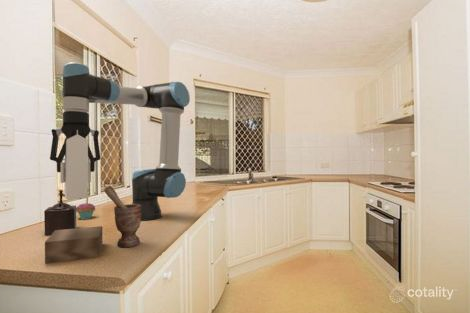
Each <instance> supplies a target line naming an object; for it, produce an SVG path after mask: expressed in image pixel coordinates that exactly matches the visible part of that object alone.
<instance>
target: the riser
mask: <svg viewBox="0 0 470 313" xmlns="http://www.w3.org/2000/svg"><path fill="white" fill-rule="evenodd" d="M102 247H103V225H102V226H101V225H99V226H88V227H77V228H76V229H64V230H55V231H54V232H53V233H52V235H49V237H48V238H47V239H46V240H45V241H44V264H51V263H59V262H67V261H76V260H84V259H93V258H100V256H101V252H102Z"/></svg>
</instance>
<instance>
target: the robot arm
mask: <svg viewBox="0 0 470 313" xmlns="http://www.w3.org/2000/svg"><path fill="white" fill-rule="evenodd" d="M61 96H62V110H63V112H62V126H61V128H57V129H55V128H52V129H51V134H52V135H51V136H52V140H51V147H50V153H49V154H50V155H49V160H50V161H52V162H55V163H56V172H57V173H60V184H63V183H64V184H65V161H64V159H65V152H66V140H67V139H69V138H71V137H73V136H75V135H77V130H78V135H80V136H82V137H83V138H85V139H87V137H88V135H90V133H91V136H92V137H93V146H94V153H95V157H94V155H93V152H92V150H91V147H90V144H88V160H89V161H88V183H91V182H92V173H94V172H95V170H96V169H95V168H96V167H95V166H96V165H95V164H96V162H97V161H100V160H101V159H102V158H101V151H100V143H99V134H100V131H99V130H94V129H92V128H90V113H89V112H90V104H111V105H112V104H114V105H132V106H133V105H135V107H138V108H148V109H149V108H150V109H158V111H159V112H160V113H161V126H160V127H161V128H160V143H159V144H160V147H159V159H158V160H159V162H158V163H159V164H158V165H157V166H156V167H155V168H150V169H149V168H148V169H141V170H134V171H133V173H132V179H131V184H132V188H131V190H132V192H131V193H132V203H131V204H139V205H141V221H151V220H156V219H160V218H162V210H161V206H160V204H159V201H158V200H159V198H166V199H170V198H173V199H175V198H178V197H180V196H181V195H182V193H183V192H184V190H185V188H186V185H187V184H186V183H187V182H186V181H187V180H186V179H187V178H186V177H185V174H184V173H182V168H181V167H180V166H179V153H180V135H181V134H180V132H181V115H182V114H184V112H185V107H187V106H188V105H189V103H190V101H191V100H190V92H189V89H188V87H187V86H186V85H185V84H184V83H183V82H181V81H171V82H165V83H159V84H152V85H148V86H142V85H141V86H135V87H129V86H120V85H119V84H118V83H117V82H116V81H114V80H111V79H107V78H104V77H101V76H96V75H94V74H91V73H90V69H89V66H87V65H86V64H83V63H79V62H66V63H65V64H64V65H63V69H62V89H61ZM62 133H63V134H64V136H65V138H64V142H63V144H62V146H61V149H60V151H59V153H58V149H59V140H60V138H59V137H60V136H61V134H62ZM57 154H58V155H57ZM63 161H64V162H63Z"/></svg>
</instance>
